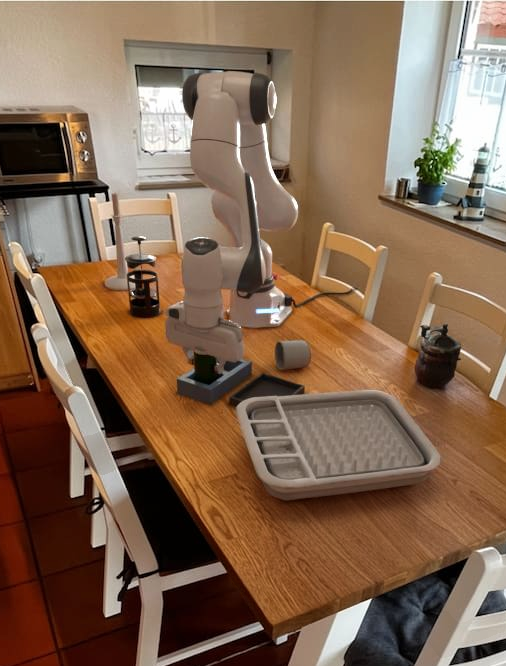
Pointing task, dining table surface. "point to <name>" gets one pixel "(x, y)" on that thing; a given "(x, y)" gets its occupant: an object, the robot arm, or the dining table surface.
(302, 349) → the ceramic mug
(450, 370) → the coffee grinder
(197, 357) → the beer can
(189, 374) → the frame
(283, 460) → the dish rack
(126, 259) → the french press
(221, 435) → the dining table surface
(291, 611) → the dining table surface
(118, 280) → the candlestick
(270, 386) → the tray
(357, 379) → the dining table surface
